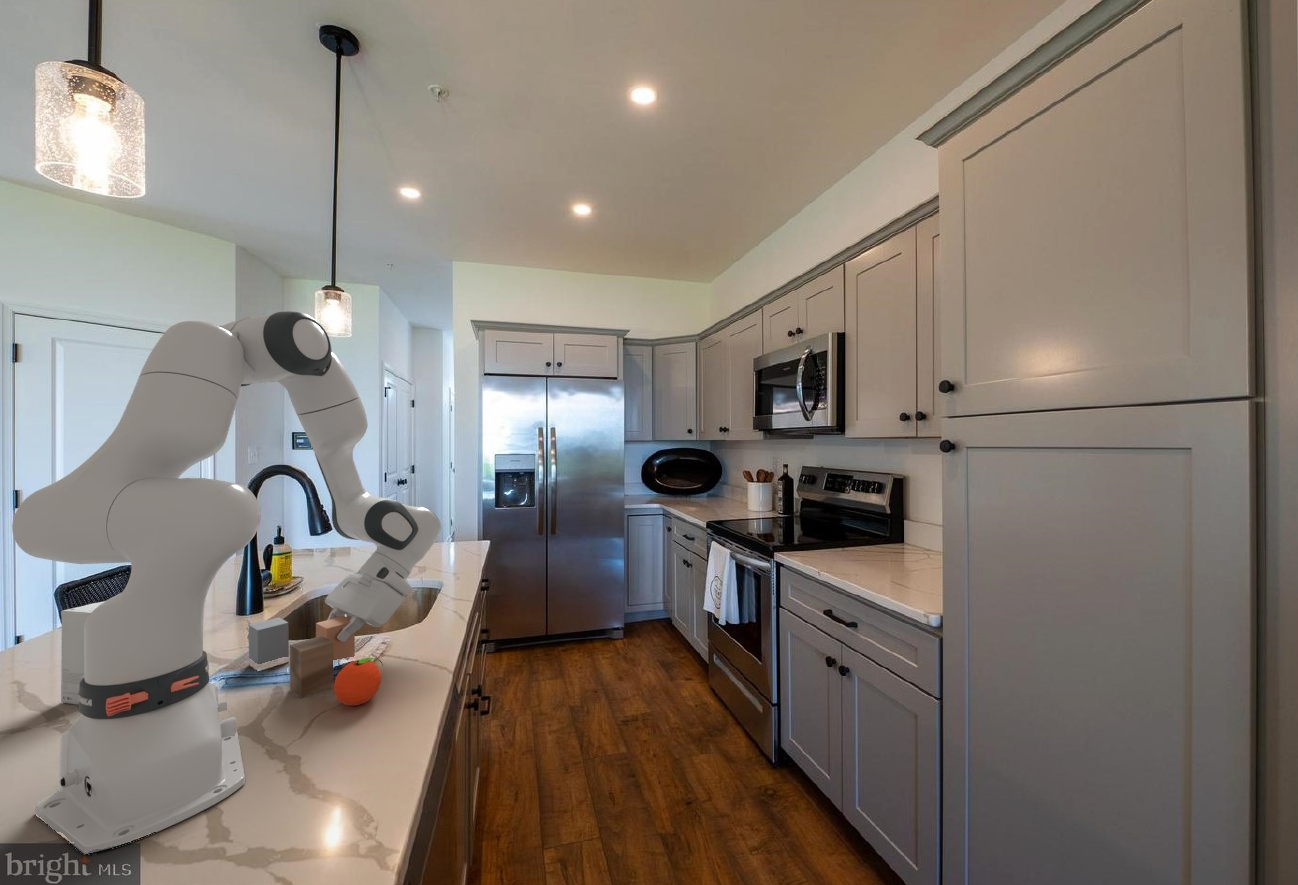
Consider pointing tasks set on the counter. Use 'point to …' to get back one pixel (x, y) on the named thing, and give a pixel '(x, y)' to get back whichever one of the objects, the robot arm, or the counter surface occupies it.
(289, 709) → the counter surface
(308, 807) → the counter surface
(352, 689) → the clementine
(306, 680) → the walnut block
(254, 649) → the slate-grey block
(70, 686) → the skincare box
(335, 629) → the terracotta block
